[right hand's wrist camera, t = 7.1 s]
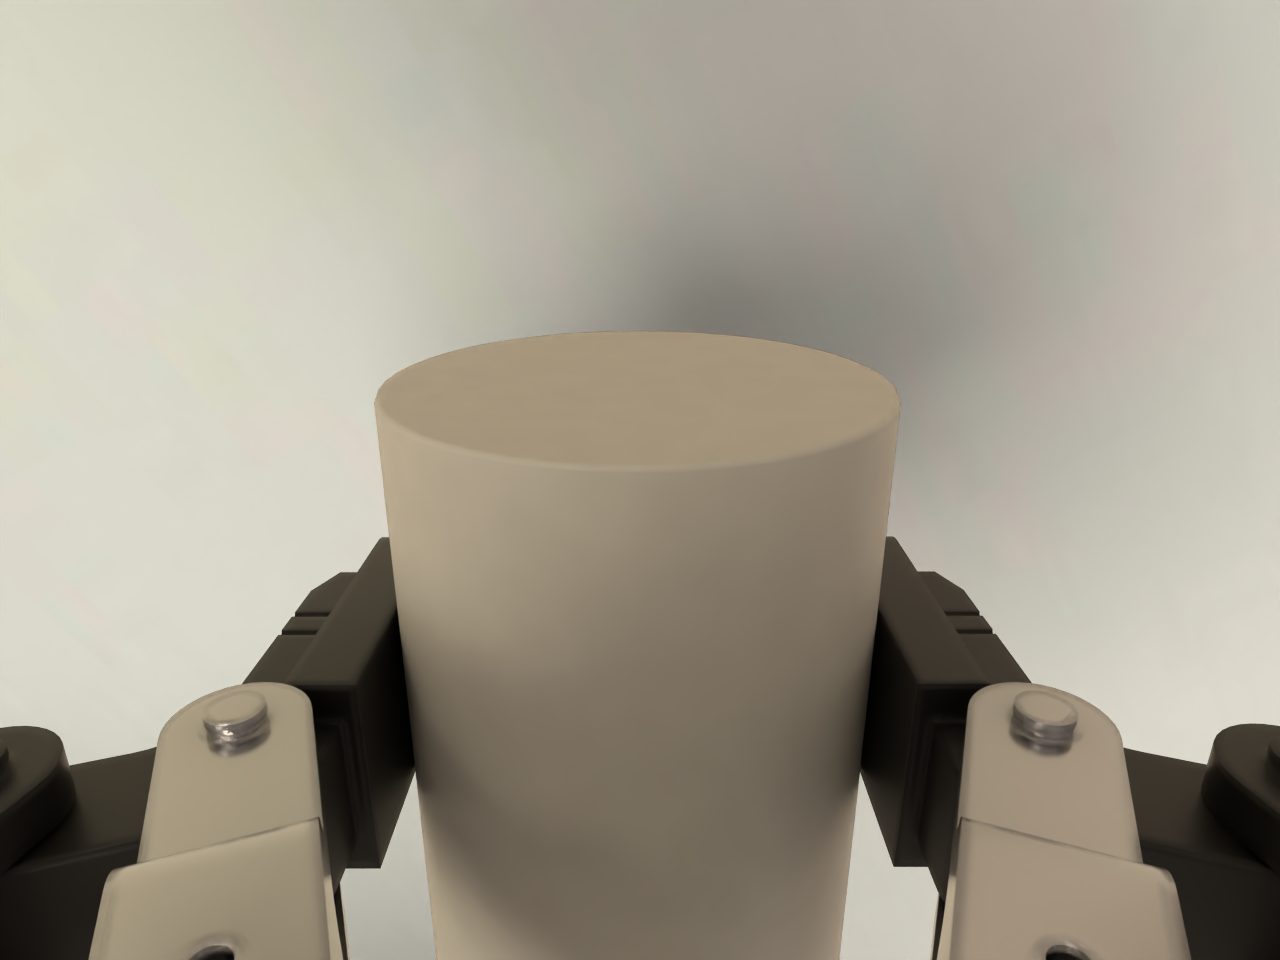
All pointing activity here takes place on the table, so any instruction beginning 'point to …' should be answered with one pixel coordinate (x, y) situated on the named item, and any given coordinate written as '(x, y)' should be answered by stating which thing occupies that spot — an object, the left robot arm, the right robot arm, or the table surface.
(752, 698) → the rod
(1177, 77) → the table surface
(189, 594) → the table surface
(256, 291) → the table surface
